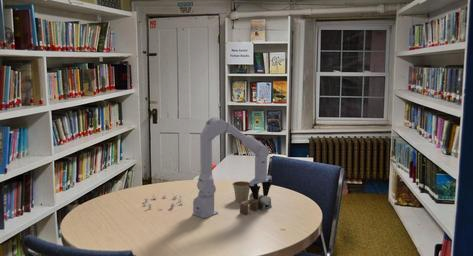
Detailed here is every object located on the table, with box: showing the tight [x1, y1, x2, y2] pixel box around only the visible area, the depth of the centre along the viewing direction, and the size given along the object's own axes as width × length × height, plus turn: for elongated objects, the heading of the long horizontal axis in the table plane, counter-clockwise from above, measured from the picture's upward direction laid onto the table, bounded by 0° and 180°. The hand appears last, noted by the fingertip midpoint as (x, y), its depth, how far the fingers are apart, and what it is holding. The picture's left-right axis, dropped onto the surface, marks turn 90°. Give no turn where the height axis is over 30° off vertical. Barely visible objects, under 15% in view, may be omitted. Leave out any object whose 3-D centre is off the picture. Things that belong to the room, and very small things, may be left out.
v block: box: [248, 202, 273, 212], centre depth 208 cm, size 7×8×3 cm
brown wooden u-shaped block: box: [239, 198, 259, 216], centre depth 201 cm, size 9×4×5 cm, turn 139°
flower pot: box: [232, 180, 251, 203], centre depth 217 cm, size 9×9×9 cm
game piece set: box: [143, 192, 183, 211], centre depth 213 cm, size 19×20×4 cm
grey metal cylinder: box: [248, 192, 272, 205], centre depth 208 cm, size 10×4×4 cm, turn 49°
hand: (260, 197), depth 208 cm, fingers open, 7 cm apart
